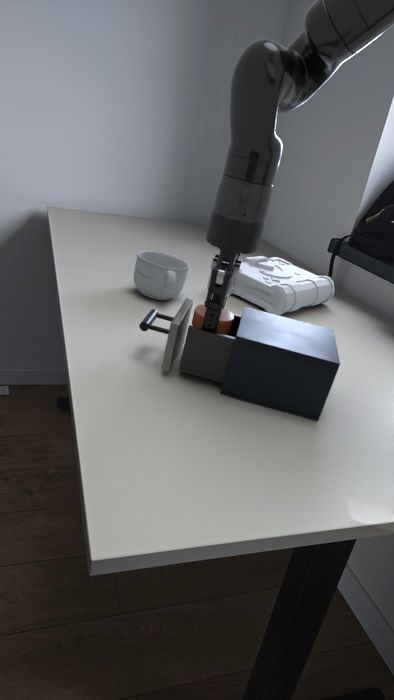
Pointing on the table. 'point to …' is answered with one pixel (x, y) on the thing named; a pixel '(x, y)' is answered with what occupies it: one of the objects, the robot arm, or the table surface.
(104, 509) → the table surface
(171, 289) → the teacup
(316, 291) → the book
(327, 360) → the cabinet
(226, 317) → the cylinder
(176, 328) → the drawer
